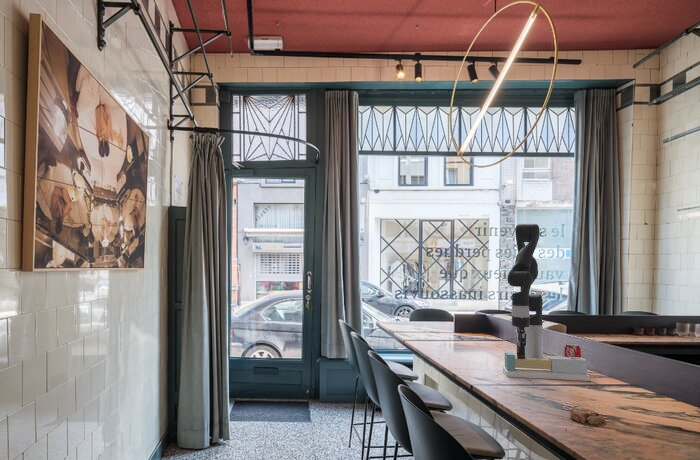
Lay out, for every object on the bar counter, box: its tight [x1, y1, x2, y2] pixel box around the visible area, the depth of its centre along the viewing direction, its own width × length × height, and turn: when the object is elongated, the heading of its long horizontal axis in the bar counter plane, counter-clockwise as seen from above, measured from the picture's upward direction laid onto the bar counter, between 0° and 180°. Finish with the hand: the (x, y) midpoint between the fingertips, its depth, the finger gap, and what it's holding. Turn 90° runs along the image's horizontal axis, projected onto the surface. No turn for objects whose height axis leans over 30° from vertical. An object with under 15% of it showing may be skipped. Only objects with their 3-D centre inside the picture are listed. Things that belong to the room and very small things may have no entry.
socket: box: [504, 350, 516, 371], centre depth 210 cm, size 8×3×7 cm, turn 170°
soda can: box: [563, 342, 582, 358], centre depth 219 cm, size 7×7×12 cm
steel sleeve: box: [548, 355, 588, 374], centre depth 206 cm, size 6×14×6 cm, turn 80°
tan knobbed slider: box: [515, 343, 552, 370], centre depth 209 cm, size 4×20×10 cm, turn 80°
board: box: [502, 365, 591, 382], centre depth 207 cm, size 12×34×2 cm, turn 80°
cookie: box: [569, 407, 606, 426], centre depth 149 cm, size 10×11×3 cm
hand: (520, 354), depth 210 cm, fingers closed on tan knobbed slider, 3 cm apart
